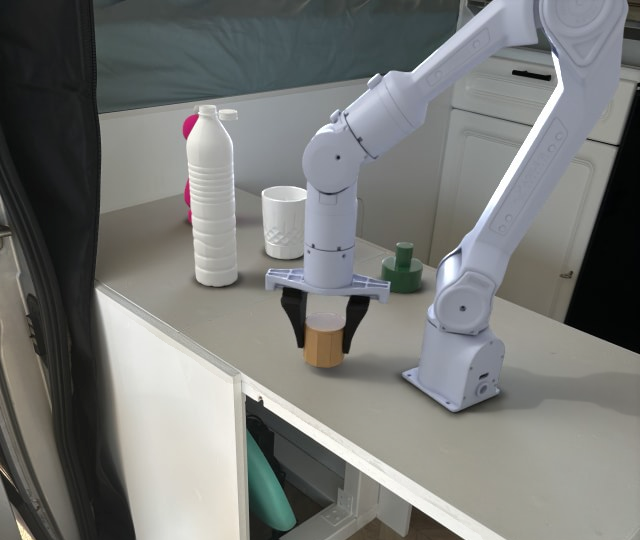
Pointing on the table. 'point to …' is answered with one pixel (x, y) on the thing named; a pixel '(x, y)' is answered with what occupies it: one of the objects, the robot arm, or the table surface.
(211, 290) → the table surface
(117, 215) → the table surface
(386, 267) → the green stepped peg base
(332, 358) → the wooden drum
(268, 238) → the white cup
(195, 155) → the water bottle
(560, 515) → the table surface
